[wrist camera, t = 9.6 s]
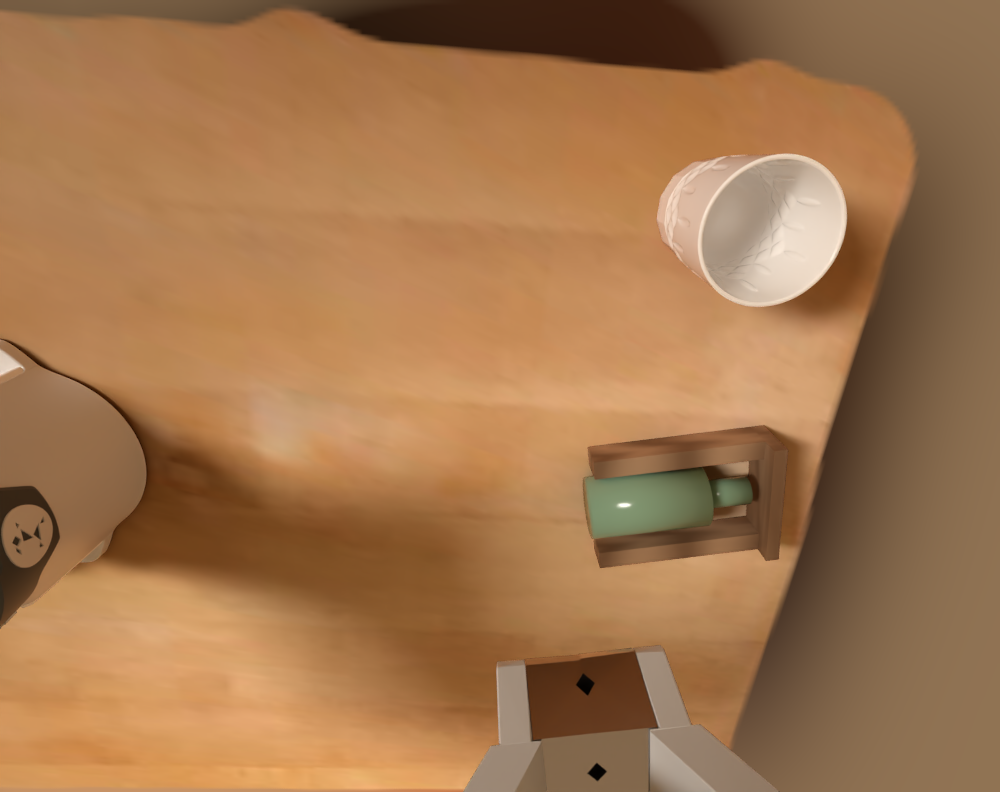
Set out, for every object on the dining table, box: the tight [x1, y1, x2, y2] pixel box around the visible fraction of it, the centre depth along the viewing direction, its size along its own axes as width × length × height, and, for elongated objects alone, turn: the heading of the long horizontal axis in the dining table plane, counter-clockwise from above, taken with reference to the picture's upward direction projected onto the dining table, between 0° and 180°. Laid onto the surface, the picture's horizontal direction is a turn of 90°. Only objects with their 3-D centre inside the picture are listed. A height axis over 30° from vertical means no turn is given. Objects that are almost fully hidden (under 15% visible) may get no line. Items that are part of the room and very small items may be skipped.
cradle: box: [588, 425, 788, 568], centre depth 48 cm, size 14×10×4 cm
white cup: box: [657, 154, 847, 307], centre depth 36 cm, size 8×8×10 cm
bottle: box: [583, 467, 753, 539], centre depth 47 cm, size 5×5×12 cm
